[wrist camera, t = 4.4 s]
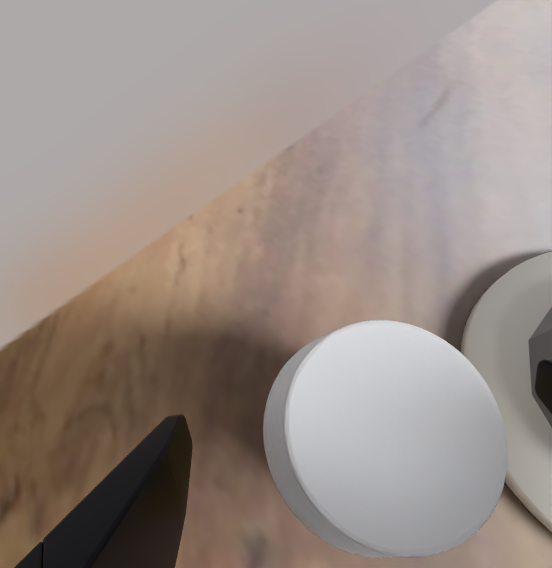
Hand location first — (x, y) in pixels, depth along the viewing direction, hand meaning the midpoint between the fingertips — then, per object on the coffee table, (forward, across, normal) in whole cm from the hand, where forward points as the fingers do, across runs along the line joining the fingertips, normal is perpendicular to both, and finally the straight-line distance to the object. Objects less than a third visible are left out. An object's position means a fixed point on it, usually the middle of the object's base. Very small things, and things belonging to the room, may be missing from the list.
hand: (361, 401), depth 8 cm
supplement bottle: (+5, 0, +6) cm, 8 cm away
